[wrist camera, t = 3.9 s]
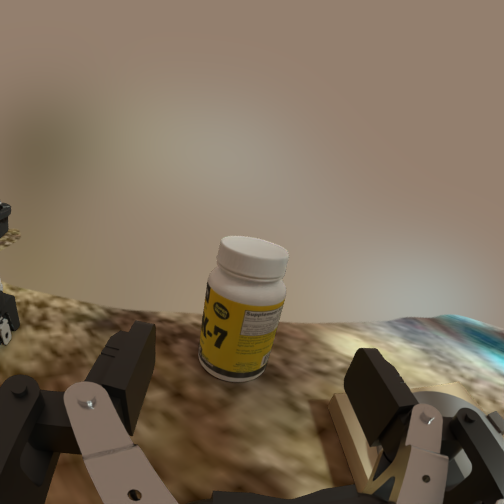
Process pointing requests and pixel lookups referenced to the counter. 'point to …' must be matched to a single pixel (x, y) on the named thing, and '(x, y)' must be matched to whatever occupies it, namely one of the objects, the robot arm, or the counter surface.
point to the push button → (3, 305)
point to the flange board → (438, 396)
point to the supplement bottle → (242, 308)
